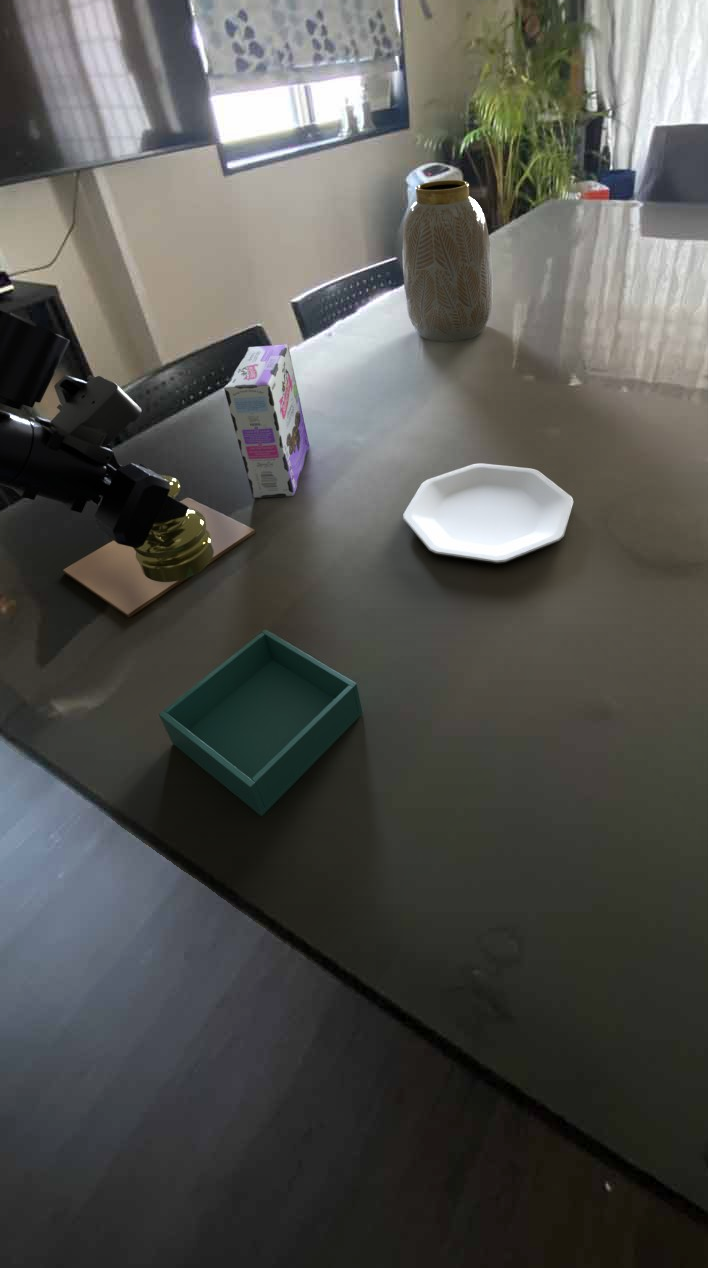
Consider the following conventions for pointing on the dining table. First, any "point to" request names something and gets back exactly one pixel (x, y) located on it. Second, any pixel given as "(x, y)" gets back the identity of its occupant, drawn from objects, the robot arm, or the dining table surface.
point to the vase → (447, 263)
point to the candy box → (268, 420)
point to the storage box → (262, 718)
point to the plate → (489, 513)
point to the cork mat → (122, 576)
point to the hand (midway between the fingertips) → (172, 503)
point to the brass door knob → (176, 545)
